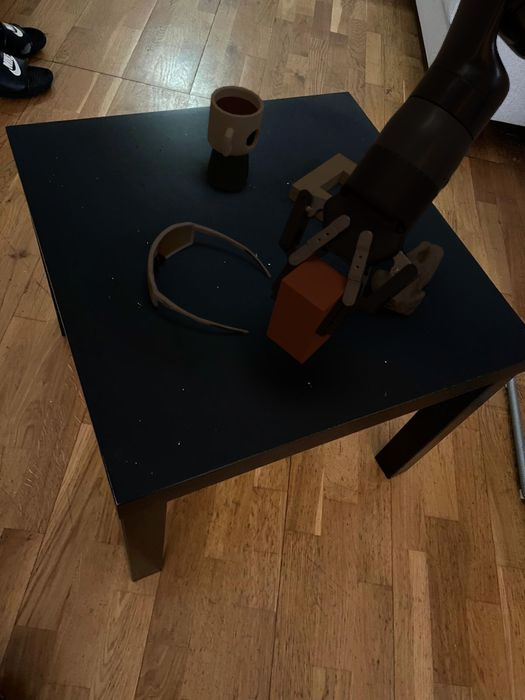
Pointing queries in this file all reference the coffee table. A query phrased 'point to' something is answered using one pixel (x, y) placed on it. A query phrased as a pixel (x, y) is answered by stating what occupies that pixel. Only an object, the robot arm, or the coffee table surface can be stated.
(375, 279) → the sculpture
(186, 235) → the sunglasses
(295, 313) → the post
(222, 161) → the character mug
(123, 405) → the coffee table surface
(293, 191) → the base pad
